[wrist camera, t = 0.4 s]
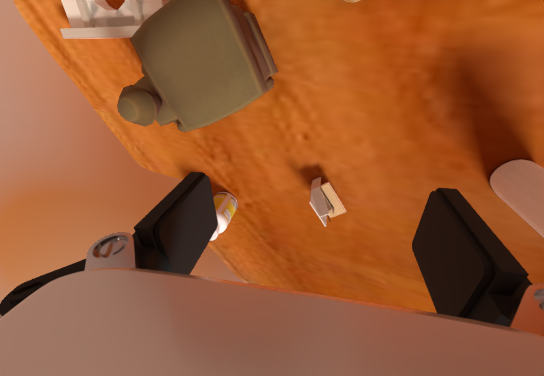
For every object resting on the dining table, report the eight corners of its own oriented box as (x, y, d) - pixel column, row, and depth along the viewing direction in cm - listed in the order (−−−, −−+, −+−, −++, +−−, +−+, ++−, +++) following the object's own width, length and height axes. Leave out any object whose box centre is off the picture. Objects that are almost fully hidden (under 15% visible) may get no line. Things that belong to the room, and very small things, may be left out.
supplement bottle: (210, 202, 52) (188, 232, 44) (220, 186, 50) (199, 215, 41) (231, 216, 53) (213, 248, 45) (242, 200, 50) (225, 231, 42)
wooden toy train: (257, -5, 32) (203, -40, 18) (291, 80, 37) (268, 104, 23) (153, 65, 40) (58, 79, 26) (191, 128, 44) (128, 169, 30)
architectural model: (328, 171, 44) (327, 193, 37) (345, 200, 46) (347, 225, 40) (311, 179, 45) (308, 201, 39) (328, 206, 47) (328, 231, 41)
